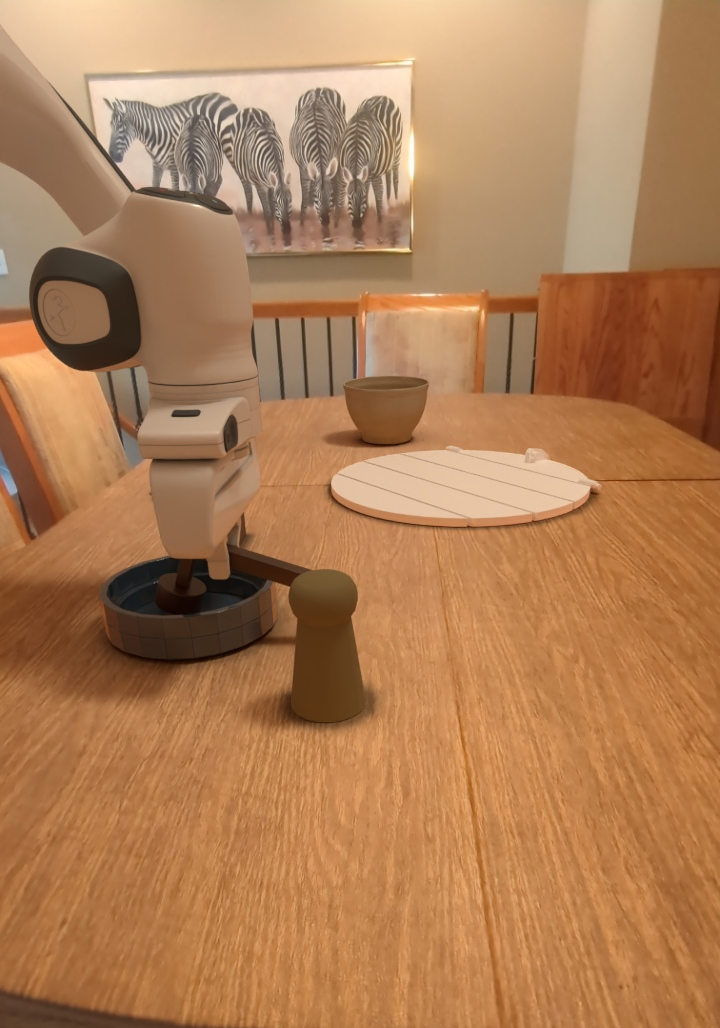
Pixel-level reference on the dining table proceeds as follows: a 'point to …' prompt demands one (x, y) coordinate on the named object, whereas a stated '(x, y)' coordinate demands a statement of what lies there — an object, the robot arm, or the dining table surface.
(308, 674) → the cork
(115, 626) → the bowl
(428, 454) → the lazy susan
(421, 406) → the planter bowl
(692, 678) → the dining table surface
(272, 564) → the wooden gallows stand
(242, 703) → the dining table surface
